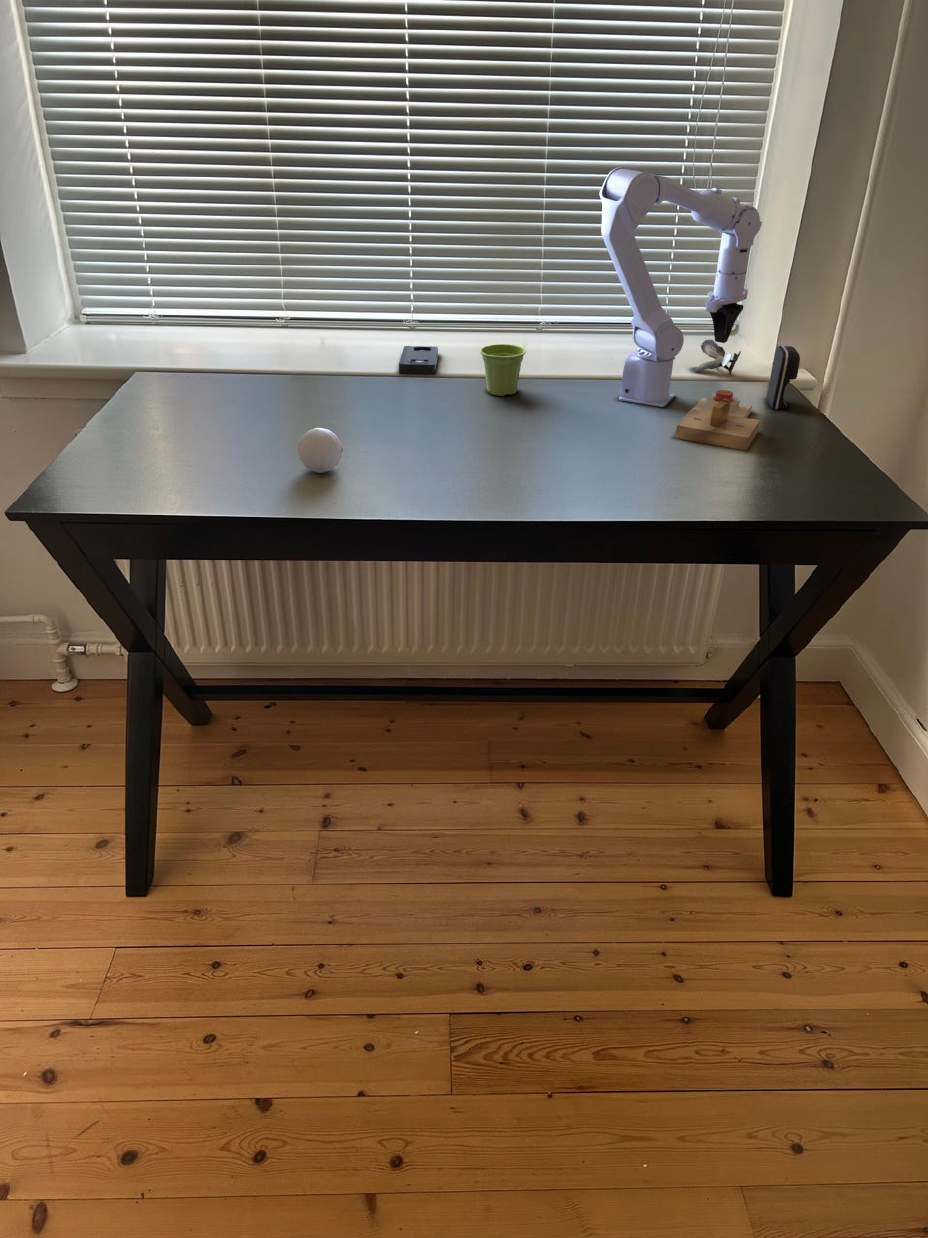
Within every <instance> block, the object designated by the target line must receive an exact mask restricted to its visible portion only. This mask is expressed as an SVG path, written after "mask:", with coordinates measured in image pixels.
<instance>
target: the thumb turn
mask: <svg viewBox="0 0 928 1238" xmlns="http://www.w3.org/2000/svg"><path fill="white" fill-rule="evenodd" d="M730 402H731V401H730V399H725V398H724V399H723V400H722V401H720V402H719V403H717V404H716V405H714V406H713V409H712V415H711V422H710V425H711V426H715V427H717V426H719V425H720V424H722V423H723V422H724V421H726V420H727V419H728V414H729V408H730Z"/></svg>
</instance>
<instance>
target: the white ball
mask: <svg viewBox="0 0 928 1238" xmlns="http://www.w3.org/2000/svg"><path fill="white" fill-rule="evenodd" d="M343 449H344V448H343V446H342V442H341V440H340V439H339V437H338V436H337V435H336V434H335V433H334V432H333V431H331V430H329V429H327V428H323V427H315V428H314V427H313V428H312V429H309V430H308V431H306V432H305V433H304V434H303V435H302V436H301V437H300V439H299V441H298V445H297V455H298V457H299V458H298V459H299V460H300V461H301V463H302V465H303V466H304V467H305V468H306V469H307V470H309V471H311V472H314V473H321V474H322V473H327V472H330V471H332V470H333V469H334V468H336V467H337V466H338V464H339V463H340V461H341V459H342V455H343V451H344V450H343Z"/></svg>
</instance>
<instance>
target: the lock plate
mask: <svg viewBox="0 0 928 1238" xmlns="http://www.w3.org/2000/svg"><path fill="white" fill-rule="evenodd" d="M711 415H712V412H706V411H700V410H693V408H691V409H689V411H688V412H687V413H686V414H685V415H684V416H683V418H681V420H680V421H679V423H677V425H676V429H675V435H674V436H675V437H674V438H675V439H679V440H685V441H691V442H697V443H703V444H709V445H714V446H720V447H724V448H725V447H726V448H731V449H737V450H741V451H747V450H748V449H749V447H750V445H751V443H752V442H753V440H754V439H755V437H756V436H757V434H758V432H759V427H760V422H761V420H760V419H754V418H748V417H747V418H743V417H737V416H730V415H728V419H727V420H726V421H724V422H723V423H722V424H720V425H719V426H717V427H715V426H711V425H710V422H711Z"/></svg>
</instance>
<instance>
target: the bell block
mask: <svg viewBox="0 0 928 1238" xmlns="http://www.w3.org/2000/svg"><path fill="white" fill-rule="evenodd" d="M715 396H716V394H711V395H708V397H707V398H706V397H701V398H700V400H699V401H697V403H696V404H695V405H694V406H693V407H692V409H693V410H700V411H706V412H712V409H713V406H714V405H716V404H717V403H719V402H717V401H715ZM752 408H753V405H751V404H744V403H741V400H740V398H738V397H735V396H733V397H732V402H730V408H729V414H728V415H730V416H737V417H743V418H748V417H749V416H750V414H751V413H752Z"/></svg>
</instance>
